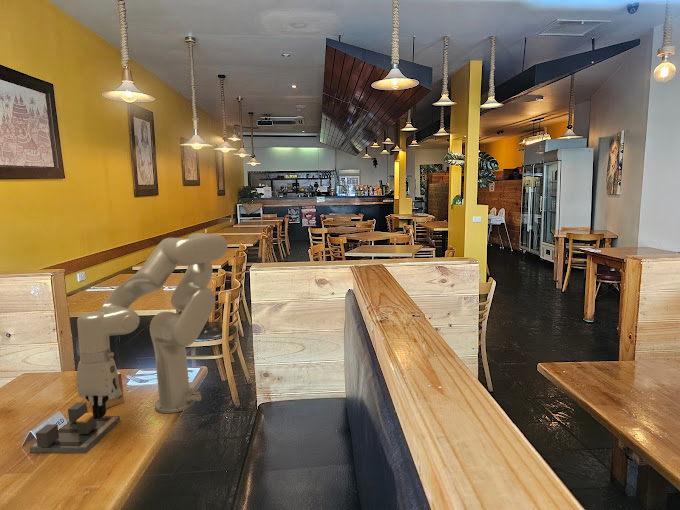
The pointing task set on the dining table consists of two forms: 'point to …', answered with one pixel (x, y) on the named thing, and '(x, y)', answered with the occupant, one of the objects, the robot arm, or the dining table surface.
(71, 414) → the breaker
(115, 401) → the small box
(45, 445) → the block
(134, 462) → the dining table surface
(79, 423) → the block
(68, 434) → the panel
